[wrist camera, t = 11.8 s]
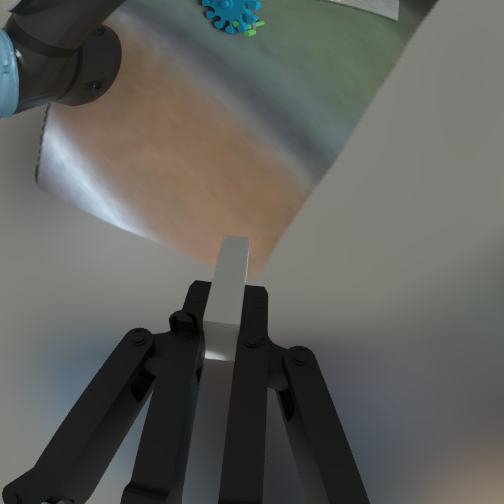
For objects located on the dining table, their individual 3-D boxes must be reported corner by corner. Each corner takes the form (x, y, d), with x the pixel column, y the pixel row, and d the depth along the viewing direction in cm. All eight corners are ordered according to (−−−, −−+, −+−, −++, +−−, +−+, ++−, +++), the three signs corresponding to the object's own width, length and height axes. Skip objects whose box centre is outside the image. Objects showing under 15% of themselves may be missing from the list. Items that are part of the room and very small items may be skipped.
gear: (189, -8, 26) (231, -39, 19) (219, -14, 28) (263, -40, 21) (220, 49, 33) (268, 28, 26) (247, 39, 35) (296, 21, 28)
